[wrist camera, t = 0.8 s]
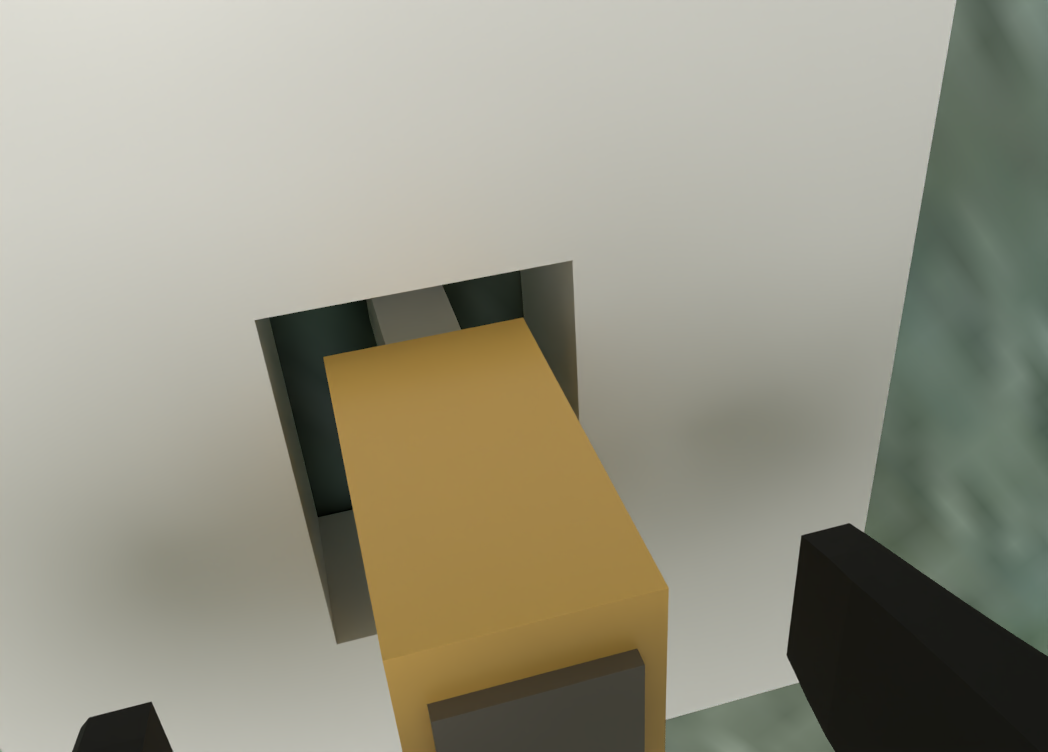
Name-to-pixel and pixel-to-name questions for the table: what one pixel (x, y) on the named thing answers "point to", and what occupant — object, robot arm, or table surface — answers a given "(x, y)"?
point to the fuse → (494, 544)
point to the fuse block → (415, 263)
